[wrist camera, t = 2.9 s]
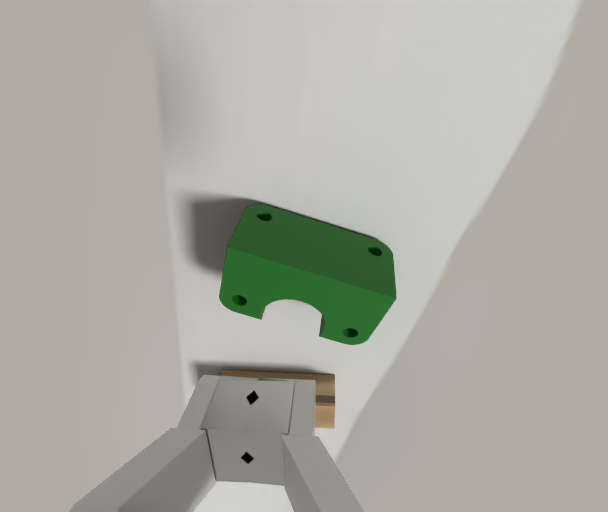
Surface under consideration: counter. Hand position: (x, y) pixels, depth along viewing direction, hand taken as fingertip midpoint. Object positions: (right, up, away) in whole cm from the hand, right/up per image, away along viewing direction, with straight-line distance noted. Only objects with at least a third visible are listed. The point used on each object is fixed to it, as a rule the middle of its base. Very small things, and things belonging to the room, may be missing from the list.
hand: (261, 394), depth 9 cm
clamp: (+2, +4, +19) cm, 19 cm away
